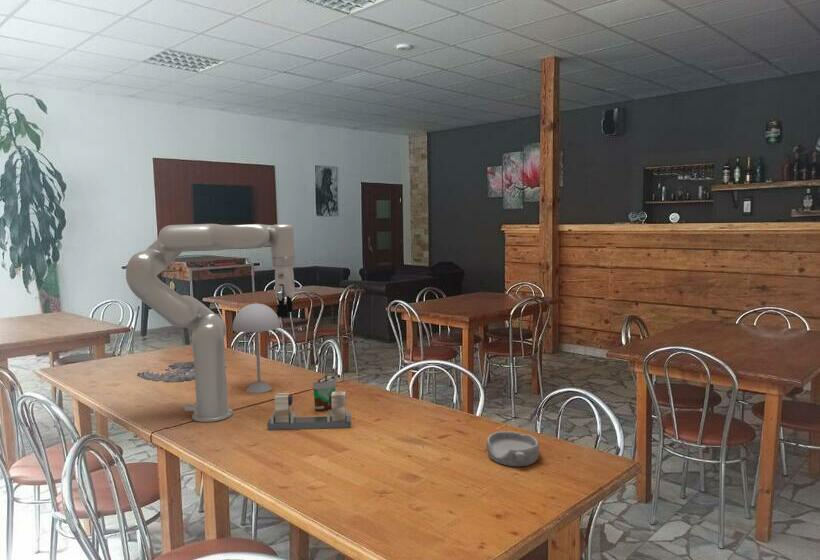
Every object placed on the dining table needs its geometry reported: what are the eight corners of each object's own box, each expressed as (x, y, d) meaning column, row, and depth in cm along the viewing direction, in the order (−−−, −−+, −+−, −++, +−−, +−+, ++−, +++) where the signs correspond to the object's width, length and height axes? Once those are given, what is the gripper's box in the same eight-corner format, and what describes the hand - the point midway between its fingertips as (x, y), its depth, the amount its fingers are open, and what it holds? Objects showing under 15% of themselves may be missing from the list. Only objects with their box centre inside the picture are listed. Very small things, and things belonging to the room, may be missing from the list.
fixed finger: (329, 421, 182) (328, 395, 181) (330, 416, 186) (329, 391, 185) (345, 420, 182) (344, 395, 181) (346, 416, 186) (345, 391, 185)
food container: (331, 413, 195) (330, 383, 194) (313, 412, 196) (312, 382, 195) (342, 402, 207) (342, 373, 206) (326, 401, 208) (325, 373, 207)
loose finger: (291, 422, 181) (290, 396, 180) (275, 422, 181) (274, 397, 180) (293, 417, 185) (292, 392, 184) (277, 418, 185) (276, 393, 184)
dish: (528, 472, 148) (528, 453, 148) (477, 461, 156) (477, 443, 155) (547, 453, 160) (547, 435, 160) (499, 443, 168) (499, 426, 167)
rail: (267, 430, 181) (266, 417, 180) (270, 424, 186) (270, 411, 185) (350, 427, 182) (349, 414, 181) (351, 421, 187) (350, 409, 186)
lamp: (243, 383, 232) (240, 299, 229) (287, 383, 232) (284, 298, 228) (229, 396, 215) (224, 306, 212) (276, 396, 215) (272, 305, 211)
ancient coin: (164, 361, 271) (164, 360, 271) (237, 362, 267) (237, 362, 266) (119, 381, 239) (119, 380, 239) (201, 383, 234) (201, 382, 234)
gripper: (290, 264, 185) (292, 318, 187) (298, 260, 203) (300, 310, 204) (266, 264, 185) (268, 319, 187) (276, 260, 202) (278, 310, 204)
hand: (285, 314), depth 196 cm, fingers open, 9 cm apart
